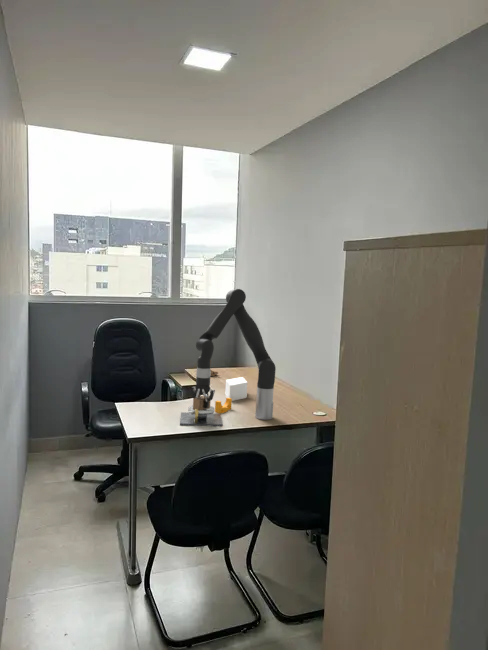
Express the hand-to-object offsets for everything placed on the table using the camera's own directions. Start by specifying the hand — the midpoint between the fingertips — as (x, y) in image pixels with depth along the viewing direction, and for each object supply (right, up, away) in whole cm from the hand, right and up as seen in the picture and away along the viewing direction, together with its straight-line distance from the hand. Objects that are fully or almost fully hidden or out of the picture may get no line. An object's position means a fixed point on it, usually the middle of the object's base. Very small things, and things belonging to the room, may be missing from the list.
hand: (202, 407), depth 265 cm
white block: (+17, -3, +56) cm, 59 cm away
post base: (-1, -7, 0) cm, 7 cm away
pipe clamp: (+11, -6, +21) cm, 25 cm away
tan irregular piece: (-7, +5, +117) cm, 117 cm away
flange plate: (-1, -2, -1) cm, 3 cm away
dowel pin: (-2, -8, -8) cm, 11 cm away
